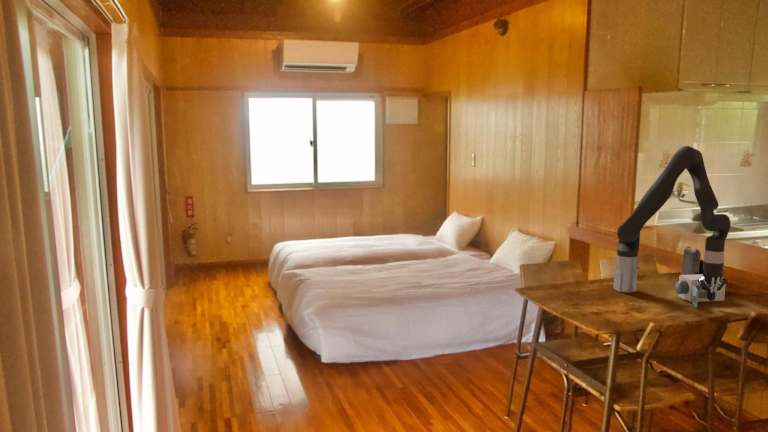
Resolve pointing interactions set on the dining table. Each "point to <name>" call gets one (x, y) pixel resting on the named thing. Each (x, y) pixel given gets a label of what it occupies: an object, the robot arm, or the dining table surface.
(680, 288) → the camera body
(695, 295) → the side door
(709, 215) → the robot arm
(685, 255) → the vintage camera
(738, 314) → the dining table surface
